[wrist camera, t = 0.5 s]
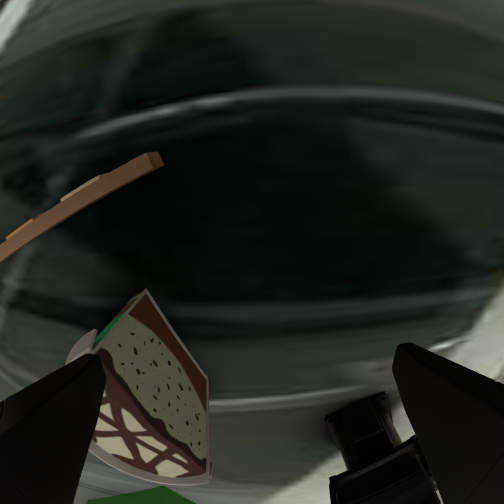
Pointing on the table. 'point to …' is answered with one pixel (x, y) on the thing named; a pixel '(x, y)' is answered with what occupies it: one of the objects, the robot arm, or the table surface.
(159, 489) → the hardback book
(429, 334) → the table surface
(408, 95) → the table surface
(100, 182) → the rail
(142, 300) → the food container
